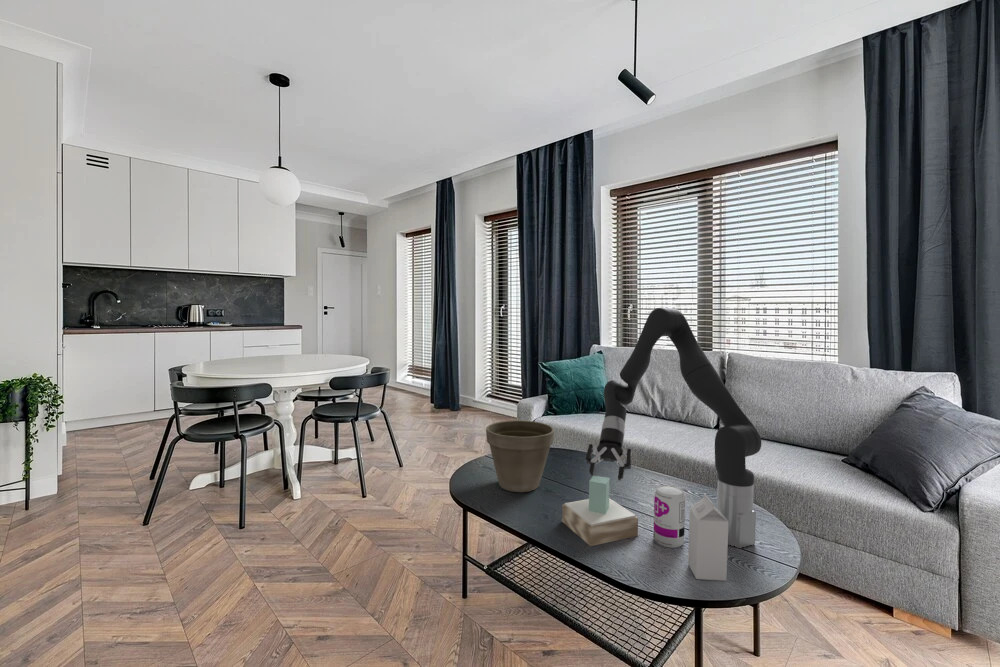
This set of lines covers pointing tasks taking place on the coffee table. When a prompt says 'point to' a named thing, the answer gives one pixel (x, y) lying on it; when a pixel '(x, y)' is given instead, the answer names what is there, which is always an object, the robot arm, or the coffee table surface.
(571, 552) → the coffee table surface
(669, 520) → the supplement can
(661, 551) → the coffee table surface
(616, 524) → the podium
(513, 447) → the plant pot
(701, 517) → the milk carton
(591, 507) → the carton
